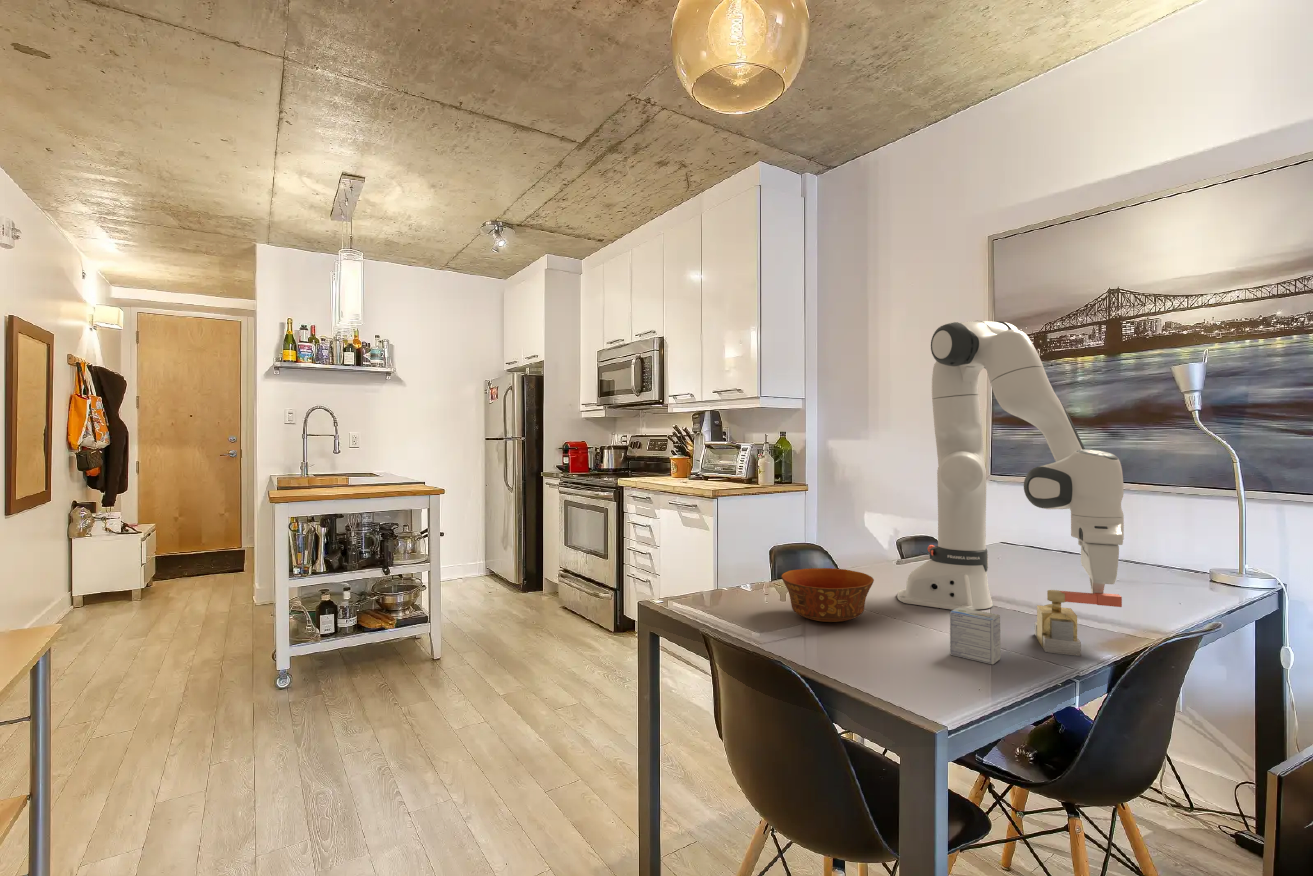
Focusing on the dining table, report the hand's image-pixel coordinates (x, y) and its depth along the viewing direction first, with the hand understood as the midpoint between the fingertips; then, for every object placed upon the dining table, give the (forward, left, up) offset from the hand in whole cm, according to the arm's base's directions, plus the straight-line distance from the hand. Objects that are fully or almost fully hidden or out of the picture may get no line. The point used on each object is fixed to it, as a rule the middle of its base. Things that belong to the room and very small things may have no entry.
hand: (1097, 597), depth 129 cm
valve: (-8, -2, -10) cm, 13 cm away
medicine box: (-24, -17, -10) cm, 31 cm away
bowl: (-54, -1, -10) cm, 54 cm away
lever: (-3, -2, -1) cm, 4 cm away
